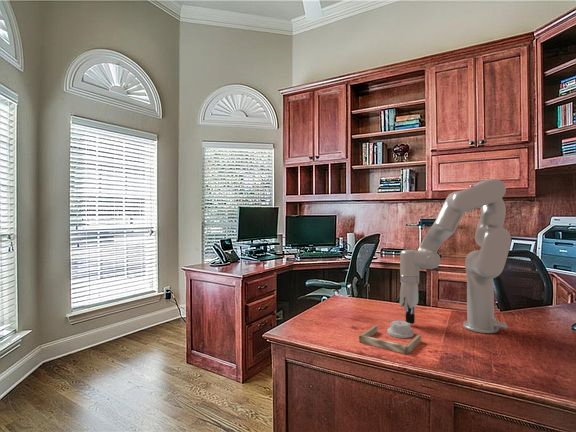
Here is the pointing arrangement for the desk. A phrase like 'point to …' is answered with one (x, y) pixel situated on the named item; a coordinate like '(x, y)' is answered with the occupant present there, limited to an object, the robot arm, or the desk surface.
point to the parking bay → (388, 345)
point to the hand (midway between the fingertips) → (410, 322)
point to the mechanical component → (400, 329)
